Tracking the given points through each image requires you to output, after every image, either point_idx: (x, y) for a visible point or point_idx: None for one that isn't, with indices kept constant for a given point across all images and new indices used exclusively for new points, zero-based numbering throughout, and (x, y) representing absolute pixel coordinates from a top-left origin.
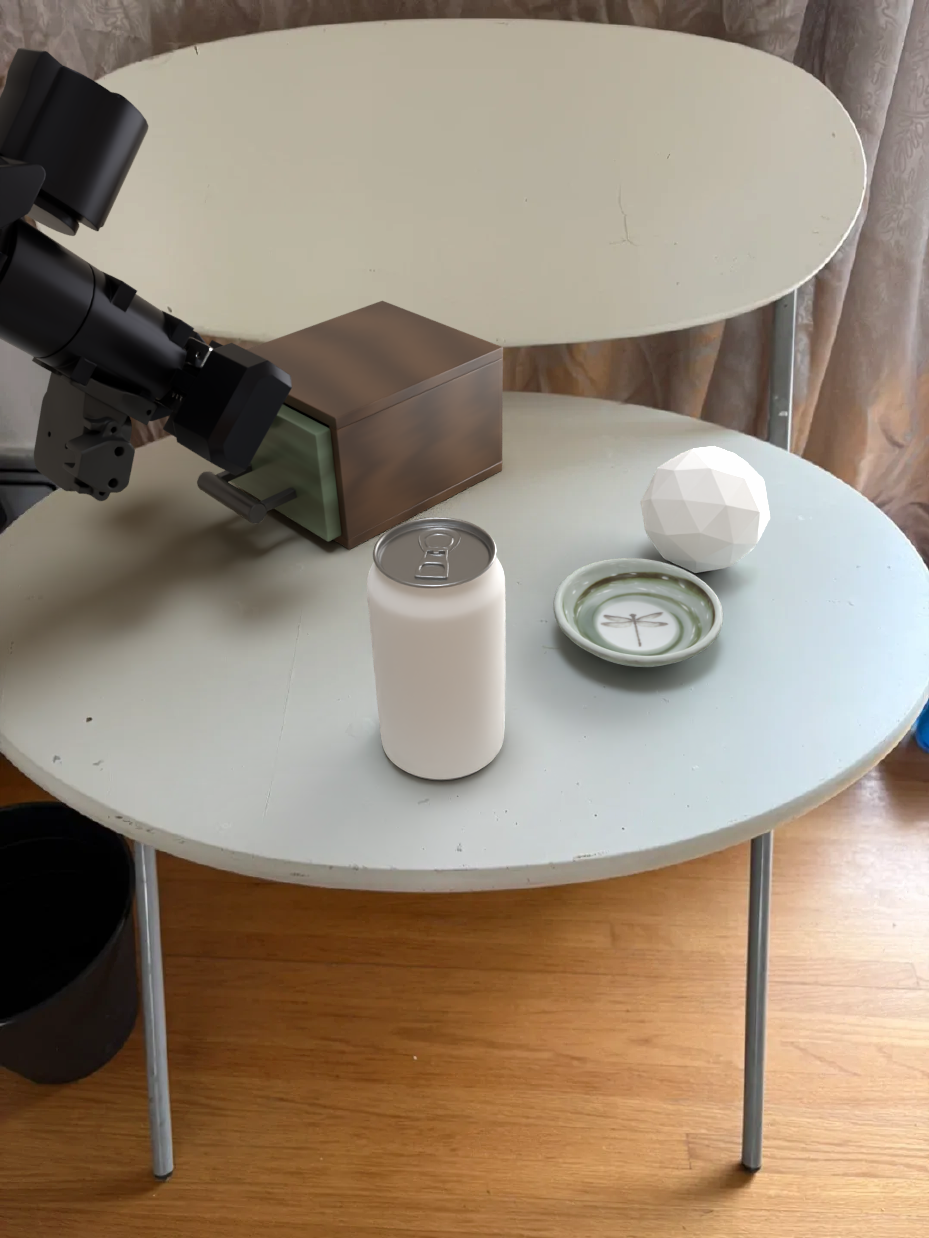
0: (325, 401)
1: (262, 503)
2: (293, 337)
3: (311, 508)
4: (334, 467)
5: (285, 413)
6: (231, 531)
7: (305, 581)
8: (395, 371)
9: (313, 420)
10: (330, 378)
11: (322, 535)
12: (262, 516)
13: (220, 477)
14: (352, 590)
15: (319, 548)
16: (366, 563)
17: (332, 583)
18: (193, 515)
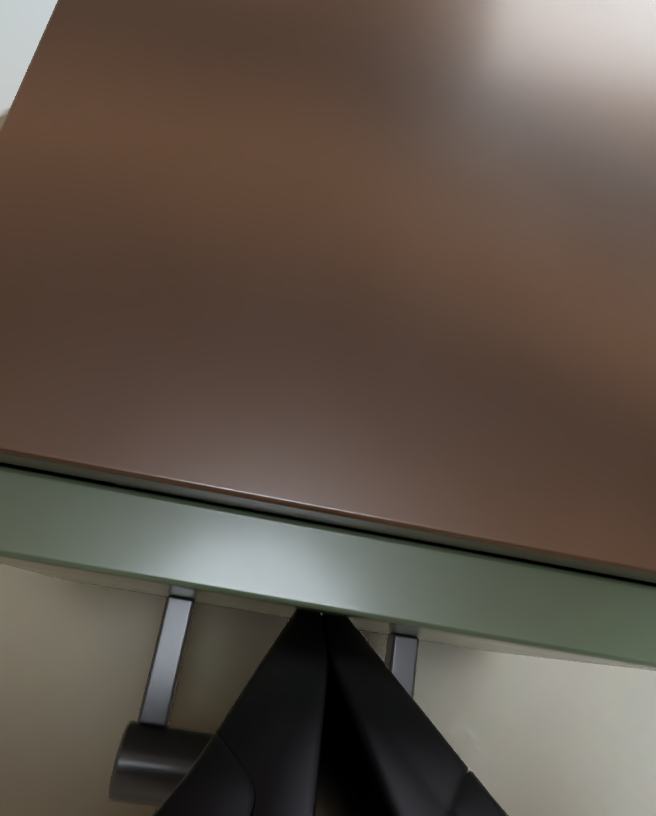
0: (641, 501)
1: None
2: (68, 95)
3: (471, 646)
4: None
5: (475, 601)
6: (210, 727)
7: (518, 775)
8: (626, 176)
9: (603, 579)
10: (489, 325)
11: (480, 649)
12: None
13: (163, 724)
14: (618, 731)
15: (444, 644)
16: None
17: (568, 739)
18: (56, 736)
